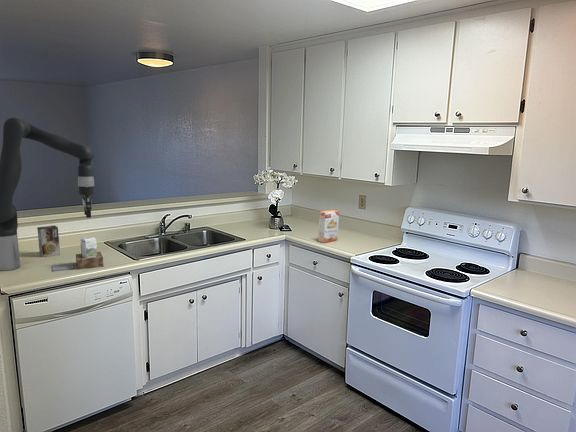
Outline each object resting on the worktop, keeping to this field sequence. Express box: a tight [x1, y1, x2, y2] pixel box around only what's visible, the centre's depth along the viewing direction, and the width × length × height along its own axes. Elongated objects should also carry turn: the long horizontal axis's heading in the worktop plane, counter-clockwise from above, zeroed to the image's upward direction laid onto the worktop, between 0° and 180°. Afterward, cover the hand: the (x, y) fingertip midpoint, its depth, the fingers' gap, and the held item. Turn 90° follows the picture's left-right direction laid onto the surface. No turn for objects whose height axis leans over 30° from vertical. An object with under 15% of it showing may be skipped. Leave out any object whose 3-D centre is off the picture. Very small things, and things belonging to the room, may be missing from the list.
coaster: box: [52, 263, 74, 273], centre depth 212 cm, size 9×9×1 cm
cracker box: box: [317, 209, 340, 244], centre depth 283 cm, size 14×6×21 cm, turn 131°
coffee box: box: [36, 224, 61, 258], centre depth 234 cm, size 9×6×16 cm
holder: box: [75, 251, 104, 270], centre depth 218 cm, size 12×12×5 cm
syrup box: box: [80, 236, 98, 258], centre depth 217 cm, size 6×6×14 cm
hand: (87, 216), depth 215 cm, fingers open, 8 cm apart
